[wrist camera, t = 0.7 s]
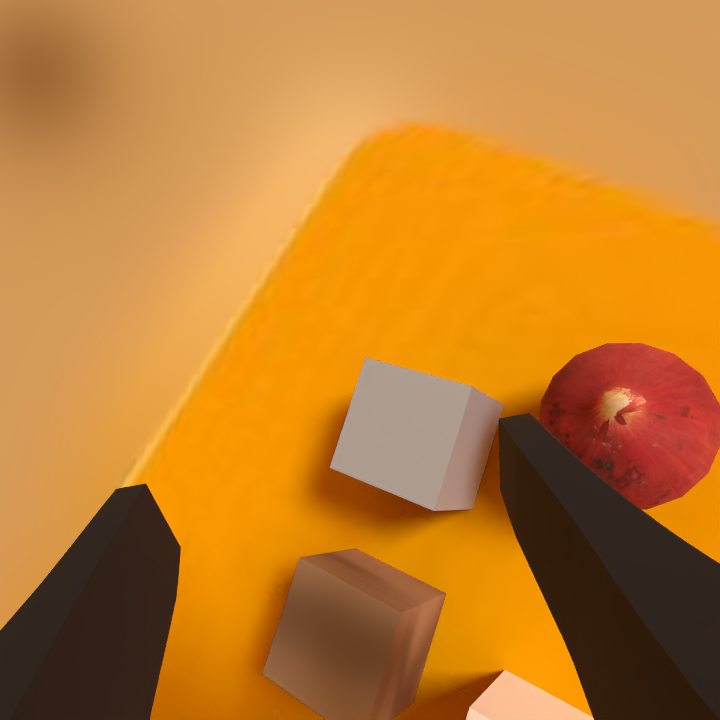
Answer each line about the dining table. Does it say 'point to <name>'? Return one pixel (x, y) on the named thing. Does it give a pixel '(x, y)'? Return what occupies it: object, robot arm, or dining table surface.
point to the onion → (635, 420)
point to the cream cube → (520, 703)
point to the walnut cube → (353, 636)
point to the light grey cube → (417, 436)
